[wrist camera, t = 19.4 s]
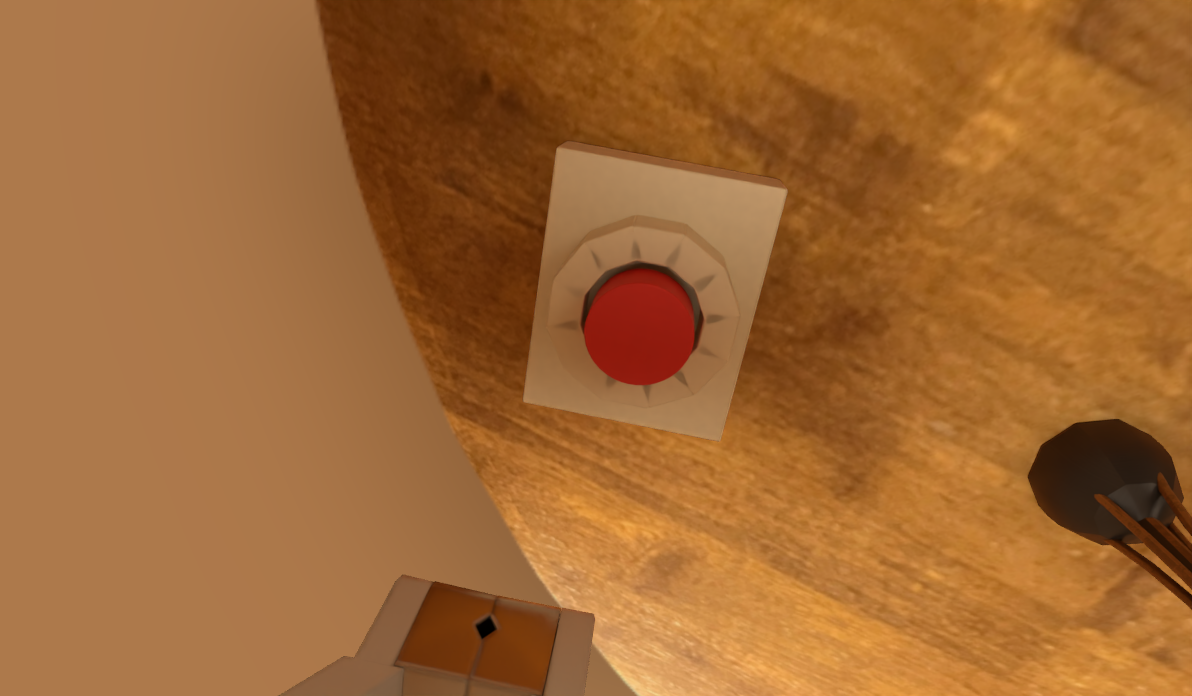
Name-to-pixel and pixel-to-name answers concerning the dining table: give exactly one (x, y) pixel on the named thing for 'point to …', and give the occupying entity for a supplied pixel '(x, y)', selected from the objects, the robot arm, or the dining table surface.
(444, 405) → the dining table surface
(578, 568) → the dining table surface
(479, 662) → the robot arm
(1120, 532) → the wooden tabletop sculpture
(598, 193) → the button box
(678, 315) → the button
